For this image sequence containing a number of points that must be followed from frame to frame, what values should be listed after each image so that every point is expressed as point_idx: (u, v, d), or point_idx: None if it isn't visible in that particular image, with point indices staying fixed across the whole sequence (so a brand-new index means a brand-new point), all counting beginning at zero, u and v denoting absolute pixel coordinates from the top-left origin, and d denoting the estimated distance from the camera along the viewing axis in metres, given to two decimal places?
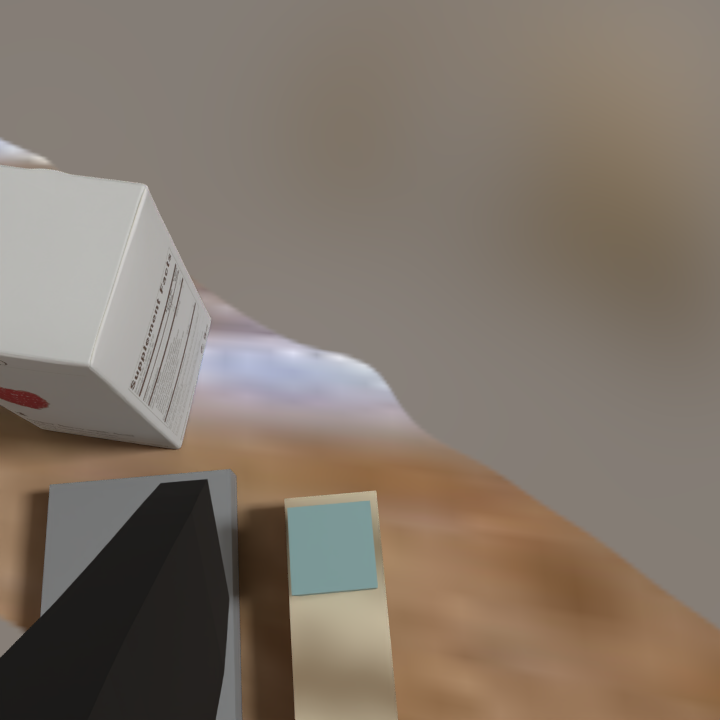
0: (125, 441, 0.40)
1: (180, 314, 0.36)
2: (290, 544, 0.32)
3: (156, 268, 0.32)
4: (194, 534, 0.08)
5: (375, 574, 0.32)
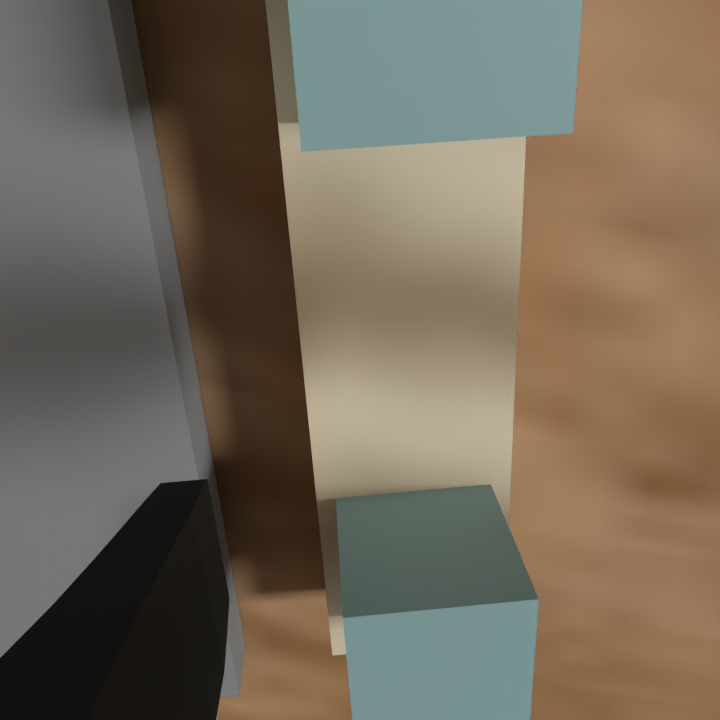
0: None
1: None
2: None
3: None
4: (194, 534, 0.08)
5: (571, 90, 0.10)
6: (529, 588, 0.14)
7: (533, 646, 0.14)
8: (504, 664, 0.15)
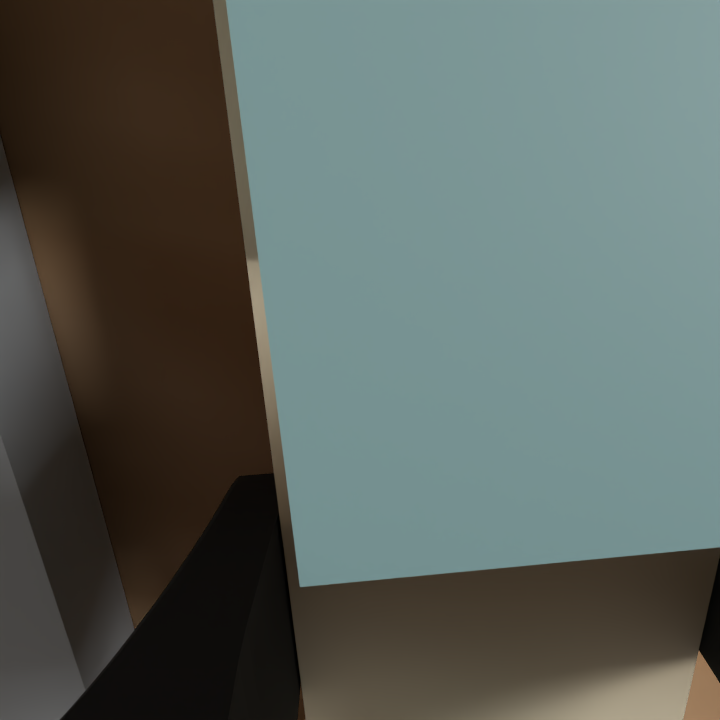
0: None
1: None
2: None
3: None
4: None
5: None
6: None
7: None
8: None
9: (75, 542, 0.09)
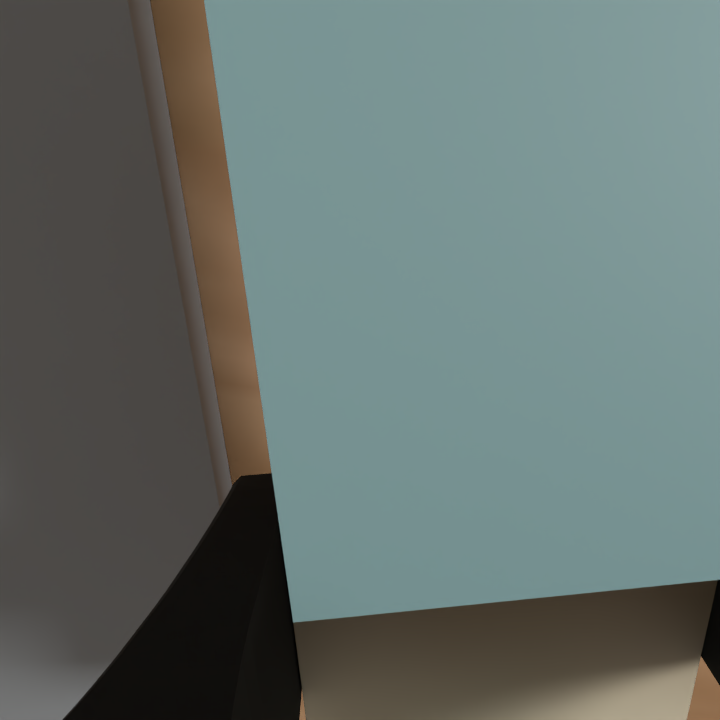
0: None
1: None
2: None
3: None
4: None
5: None
6: None
7: None
8: None
9: (196, 328, 0.16)
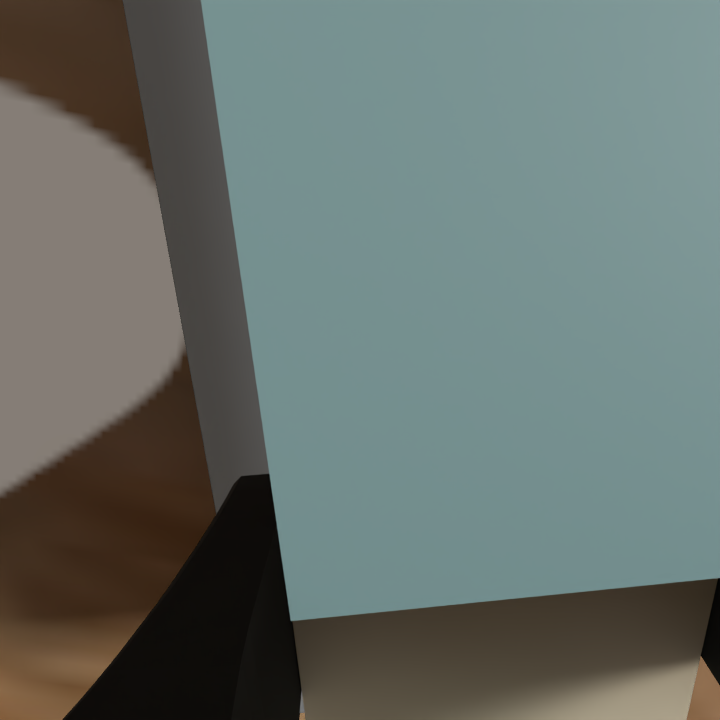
0: None
1: None
2: None
3: None
4: None
5: None
6: None
7: None
8: None
9: None
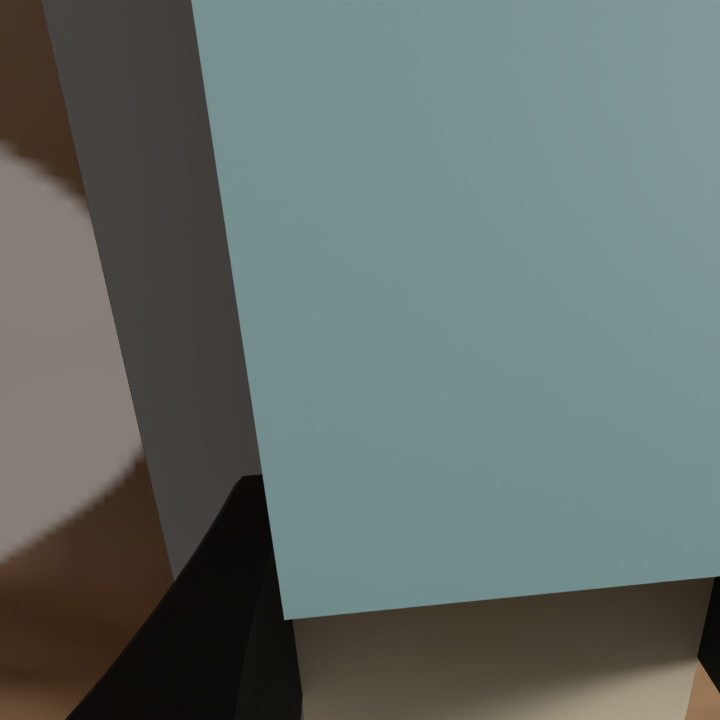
0: None
1: None
2: None
3: None
4: None
5: None
6: None
7: None
8: None
9: None
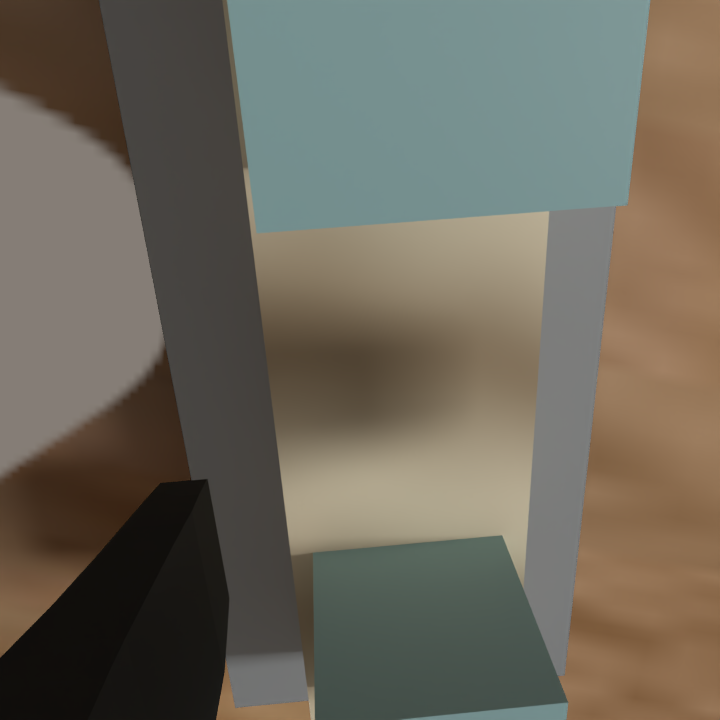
0: None
1: None
2: None
3: None
4: (194, 534, 0.08)
5: (627, 149, 0.07)
6: (555, 685, 0.11)
7: None
8: None
9: None
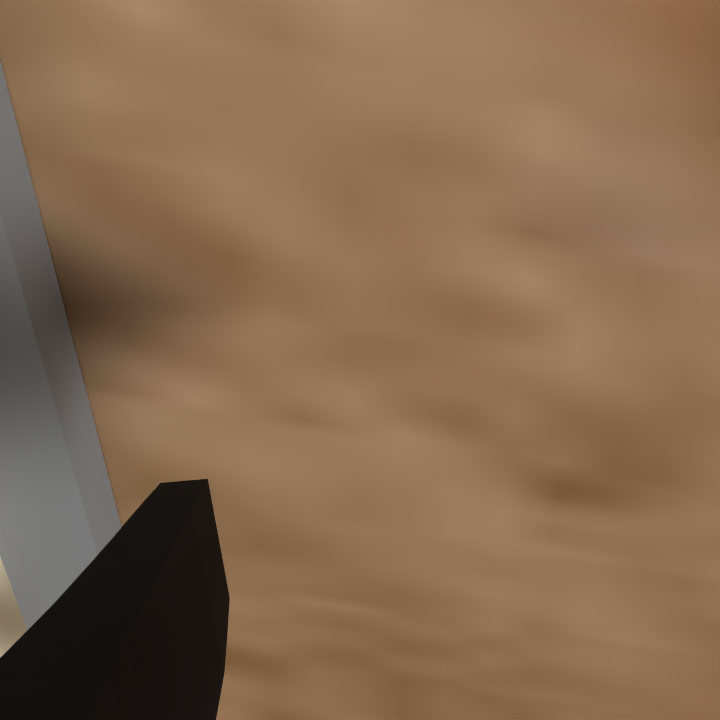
0: None
1: None
2: None
3: None
4: (194, 534, 0.08)
5: None
6: None
7: None
8: None
9: (52, 332, 0.16)
